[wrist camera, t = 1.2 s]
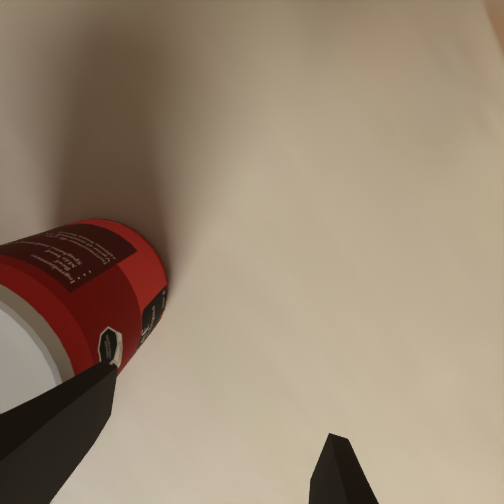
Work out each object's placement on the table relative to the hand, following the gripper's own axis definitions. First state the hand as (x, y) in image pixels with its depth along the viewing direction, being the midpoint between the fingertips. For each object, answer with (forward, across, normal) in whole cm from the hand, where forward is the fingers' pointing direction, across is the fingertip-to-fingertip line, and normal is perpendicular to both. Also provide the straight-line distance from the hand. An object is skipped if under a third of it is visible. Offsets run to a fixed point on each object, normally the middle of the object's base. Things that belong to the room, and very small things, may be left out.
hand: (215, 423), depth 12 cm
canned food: (+10, +9, +2) cm, 14 cm away
